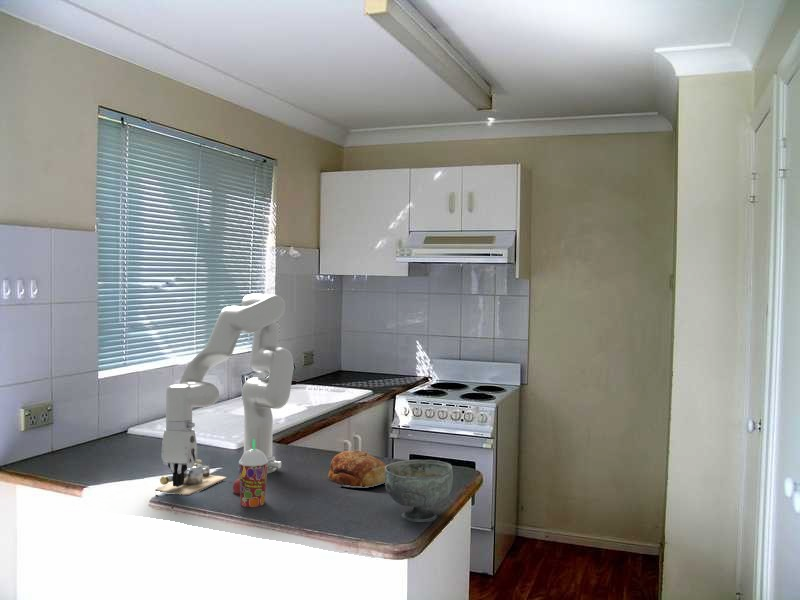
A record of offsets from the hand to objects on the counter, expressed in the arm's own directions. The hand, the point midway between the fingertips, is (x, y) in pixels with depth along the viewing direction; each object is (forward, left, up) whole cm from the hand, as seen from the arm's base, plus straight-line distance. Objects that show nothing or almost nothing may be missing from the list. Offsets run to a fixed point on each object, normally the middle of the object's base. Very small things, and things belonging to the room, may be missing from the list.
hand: (178, 485), depth 207 cm
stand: (+1, -7, -3) cm, 8 cm away
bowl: (-74, -9, -4) cm, 74 cm away
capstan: (+1, -7, -1) cm, 8 cm away
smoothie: (-26, +1, -4) cm, 27 cm away
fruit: (-19, -7, -4) cm, 21 cm away
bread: (-45, -36, -4) cm, 58 cm away
